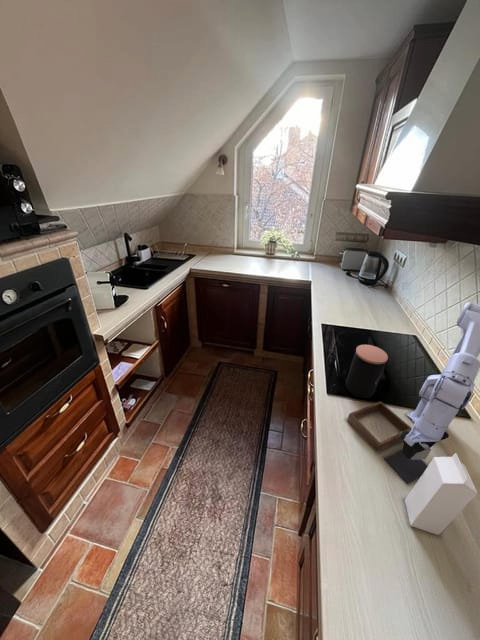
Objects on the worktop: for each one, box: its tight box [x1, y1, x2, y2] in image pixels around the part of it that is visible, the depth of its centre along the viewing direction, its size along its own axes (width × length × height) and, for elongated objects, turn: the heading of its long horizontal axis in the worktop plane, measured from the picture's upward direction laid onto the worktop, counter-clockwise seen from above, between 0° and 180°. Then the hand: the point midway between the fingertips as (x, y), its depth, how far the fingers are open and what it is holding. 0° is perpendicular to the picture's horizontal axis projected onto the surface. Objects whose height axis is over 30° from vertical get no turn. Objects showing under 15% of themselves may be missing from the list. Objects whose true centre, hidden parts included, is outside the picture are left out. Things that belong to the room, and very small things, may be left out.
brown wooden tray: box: [346, 401, 413, 453], centre depth 84 cm, size 15×13×4 cm
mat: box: [383, 448, 429, 485], centre depth 74 cm, size 10×8×1 cm
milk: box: [404, 452, 478, 536], centre depth 58 cm, size 6×6×22 cm
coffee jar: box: [345, 344, 389, 399], centre depth 96 cm, size 11×11×18 cm
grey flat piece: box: [411, 443, 432, 461], centre depth 71 cm, size 7×2×8 cm, turn 92°
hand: (415, 450), depth 71 cm, fingers closed on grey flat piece, 7 cm apart
